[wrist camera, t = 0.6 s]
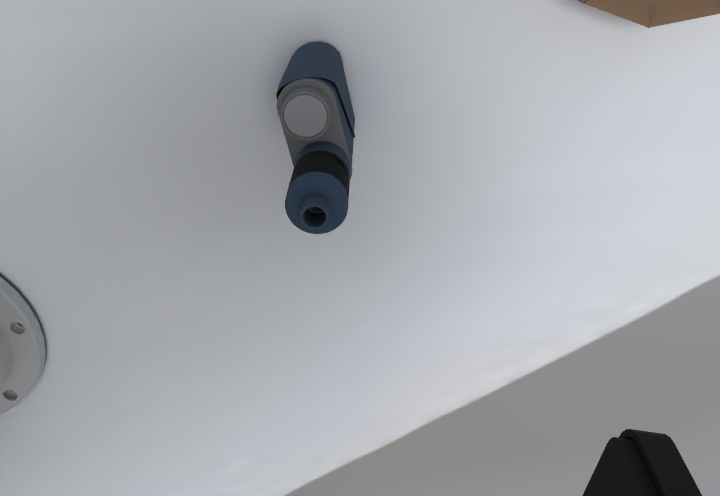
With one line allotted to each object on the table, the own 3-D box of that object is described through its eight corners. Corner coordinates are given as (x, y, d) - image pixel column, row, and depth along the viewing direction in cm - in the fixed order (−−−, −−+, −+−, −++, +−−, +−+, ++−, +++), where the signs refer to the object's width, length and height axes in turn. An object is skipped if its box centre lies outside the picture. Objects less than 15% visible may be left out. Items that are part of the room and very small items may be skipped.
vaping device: (312, 143, 35) (288, 253, 24) (286, 44, 32) (247, 118, 22) (360, 134, 34) (357, 241, 24) (337, 33, 32) (323, 102, 21)
